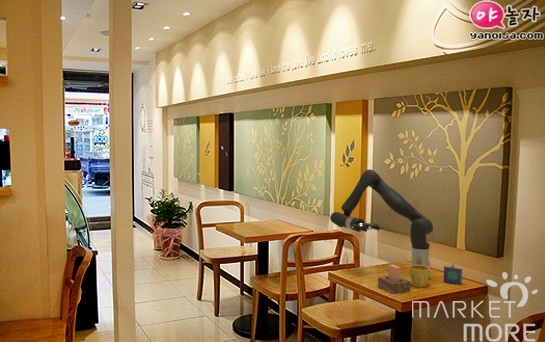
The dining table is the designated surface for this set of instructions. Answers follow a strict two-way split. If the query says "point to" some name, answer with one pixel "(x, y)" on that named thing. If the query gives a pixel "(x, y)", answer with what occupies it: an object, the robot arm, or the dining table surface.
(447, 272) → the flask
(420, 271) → the plant pot
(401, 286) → the walnut frame
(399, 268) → the tall pink pillar
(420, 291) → the dining table surface
